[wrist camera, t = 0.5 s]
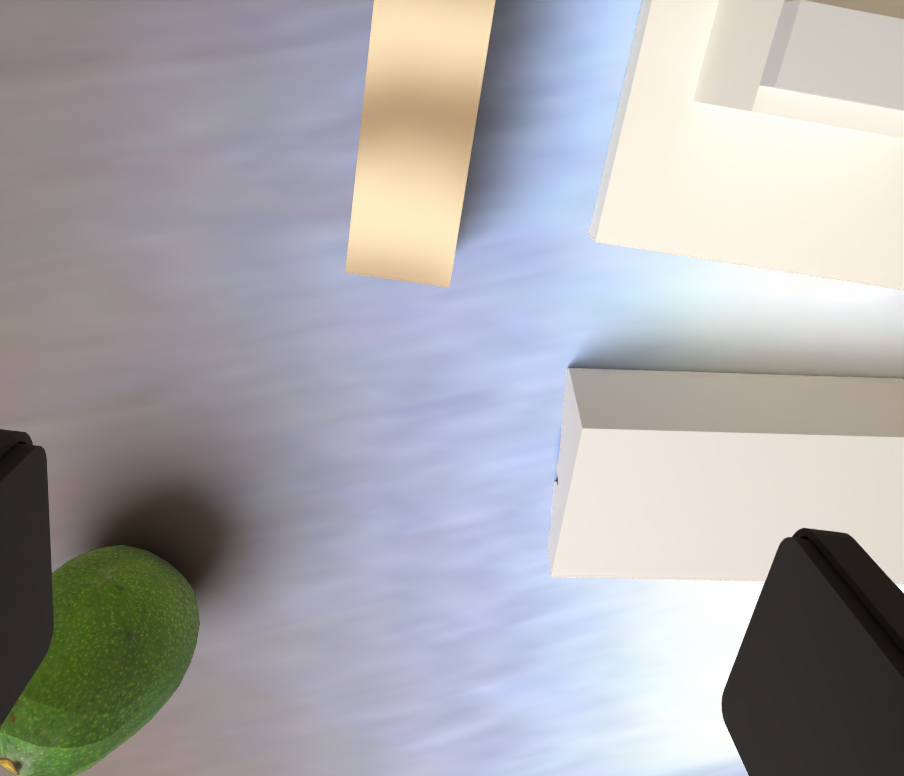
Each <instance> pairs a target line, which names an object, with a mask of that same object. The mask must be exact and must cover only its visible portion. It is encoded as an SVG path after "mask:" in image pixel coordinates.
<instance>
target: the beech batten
mask: <svg viewBox="0 0 904 776" xmlns="http://www.w3.org/2000/svg"><path fill="white" fill-rule="evenodd" d="M494 6H495V0H374V7H373V16H372V26H371V35H370V44H369V54H368V63H367V73H366V82H365V92H364V101H363V111H362V120H361V130H360V139H359V149H358V158H357V167H356V177H355V186H354V196H353V205H352V215H351V224H350V234H349V243H348V253H347V262H346V273H353V274H360V275H367V276H374V277H381V278H388V279H395V280H402V281H409V282H416V283H422V284H429V285H436V286H443V287H450V281H451V275H452V269H453V262H454V256H455V250H456V244H457V237H458V231H459V225H460V219H461V212H462V206H463V200H464V194H465V187H466V181H467V175H468V169H469V162H470V156H471V150H472V144H473V137H474V131H475V125H476V119H477V112H478V106H479V100H480V94H481V87H482V81H483V75H484V69H485V63H486V56H487V50H488V44H489V38H490V31H491V25H492V19H493V13H494Z"/></svg>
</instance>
